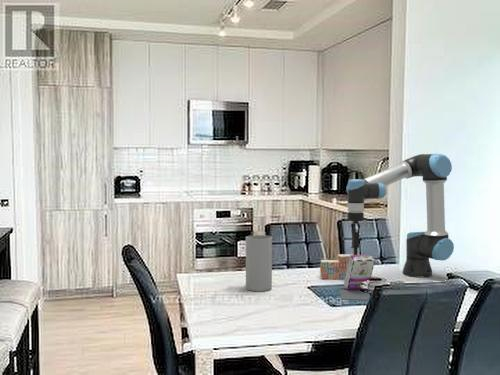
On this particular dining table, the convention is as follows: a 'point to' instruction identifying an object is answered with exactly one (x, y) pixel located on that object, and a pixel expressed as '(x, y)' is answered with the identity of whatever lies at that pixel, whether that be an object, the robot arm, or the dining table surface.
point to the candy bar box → (358, 271)
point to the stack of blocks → (334, 268)
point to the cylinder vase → (258, 263)
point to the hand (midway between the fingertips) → (355, 261)
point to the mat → (353, 295)
